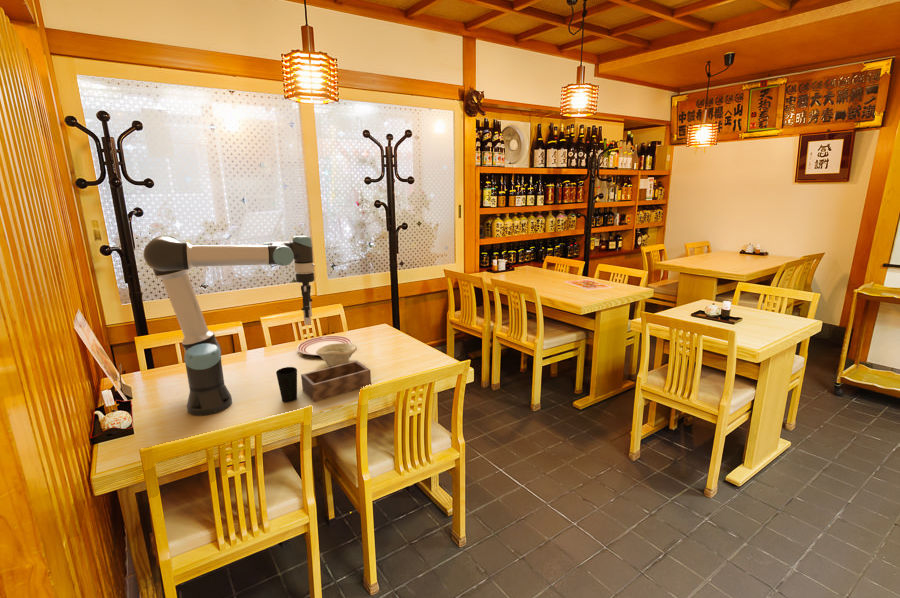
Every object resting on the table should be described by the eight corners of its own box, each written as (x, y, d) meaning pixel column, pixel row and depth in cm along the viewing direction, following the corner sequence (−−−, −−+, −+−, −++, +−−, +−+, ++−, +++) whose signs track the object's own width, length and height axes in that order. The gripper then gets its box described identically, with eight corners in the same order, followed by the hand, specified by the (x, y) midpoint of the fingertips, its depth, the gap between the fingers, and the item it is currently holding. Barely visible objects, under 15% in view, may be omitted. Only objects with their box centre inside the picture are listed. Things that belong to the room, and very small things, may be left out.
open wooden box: (314, 402, 173) (312, 385, 171) (302, 390, 183) (301, 374, 182) (371, 385, 187) (370, 369, 185) (357, 375, 197) (356, 360, 196)
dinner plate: (345, 359, 217) (345, 353, 216) (289, 359, 218) (288, 353, 217) (357, 341, 244) (357, 335, 243) (307, 341, 244) (307, 335, 244)
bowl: (324, 378, 206) (308, 354, 210) (356, 364, 218) (341, 341, 223) (332, 361, 197) (315, 337, 201) (365, 348, 209) (348, 325, 214)
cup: (293, 404, 171) (290, 375, 168) (275, 402, 173) (272, 373, 170) (303, 395, 179) (300, 367, 176) (286, 394, 180) (283, 366, 177)
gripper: (313, 277, 179) (316, 327, 184) (314, 267, 203) (317, 312, 208) (293, 278, 177) (297, 329, 182) (297, 268, 201) (300, 313, 206)
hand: (308, 320), depth 195 cm, fingers open, 13 cm apart
